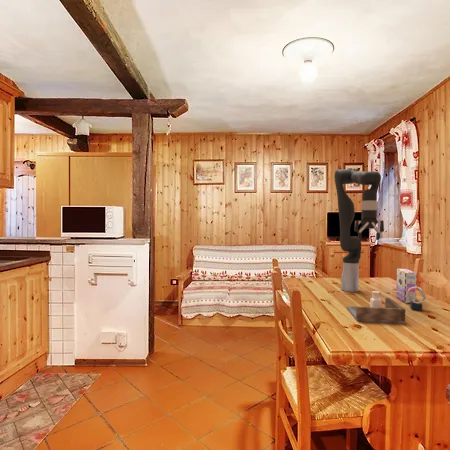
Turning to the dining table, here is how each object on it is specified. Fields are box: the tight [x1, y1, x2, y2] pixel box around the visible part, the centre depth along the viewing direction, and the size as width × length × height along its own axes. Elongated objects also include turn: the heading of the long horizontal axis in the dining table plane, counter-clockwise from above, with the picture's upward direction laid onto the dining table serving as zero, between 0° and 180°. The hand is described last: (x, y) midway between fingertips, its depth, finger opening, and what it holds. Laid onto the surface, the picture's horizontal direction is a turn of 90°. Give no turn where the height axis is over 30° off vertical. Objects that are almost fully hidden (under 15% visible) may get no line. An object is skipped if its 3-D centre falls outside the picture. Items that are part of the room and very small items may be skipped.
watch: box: [407, 286, 427, 312], centre depth 157 cm, size 6×8×11 cm
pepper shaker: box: [369, 290, 382, 308], centre depth 148 cm, size 4×4×10 cm
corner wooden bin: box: [346, 297, 406, 324], centre depth 147 cm, size 20×20×6 cm
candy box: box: [396, 268, 418, 304], centre depth 173 cm, size 14×6×16 cm, turn 168°
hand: (368, 239), depth 169 cm, fingers open, 8 cm apart
